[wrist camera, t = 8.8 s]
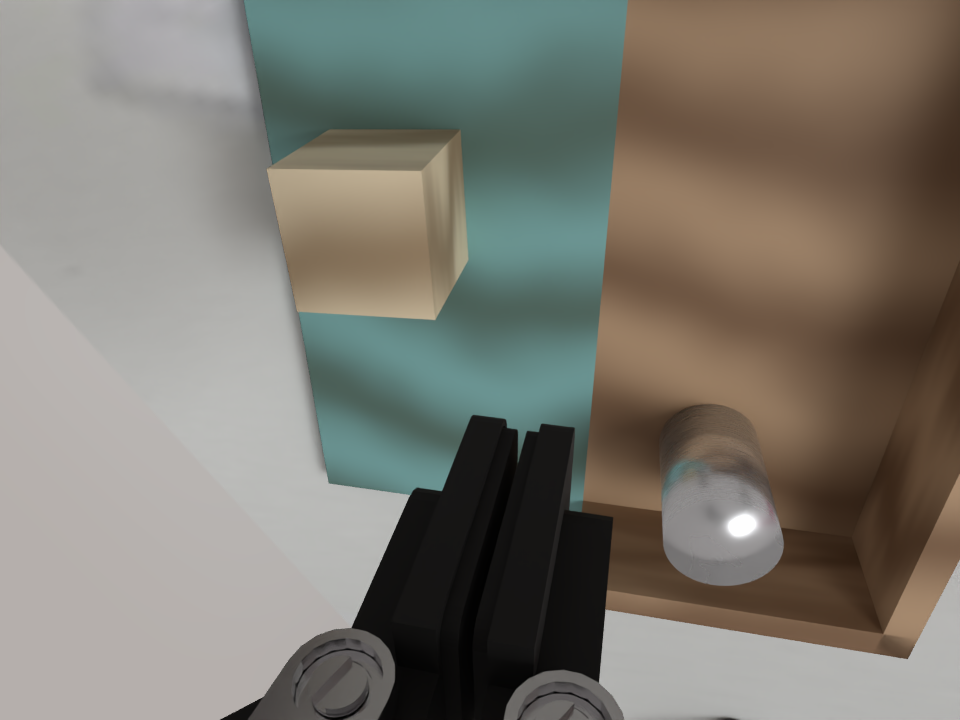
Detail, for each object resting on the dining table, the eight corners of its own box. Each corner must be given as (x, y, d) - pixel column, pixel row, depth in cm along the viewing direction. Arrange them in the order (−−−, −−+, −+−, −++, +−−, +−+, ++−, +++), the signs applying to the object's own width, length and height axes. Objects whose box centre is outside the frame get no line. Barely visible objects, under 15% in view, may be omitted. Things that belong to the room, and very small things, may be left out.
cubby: (247, -62, 23) (138, -59, 18) (1121, -76, 19) (1291, -77, 14) (336, 470, 36) (286, 557, 31) (867, 543, 31) (907, 659, 26)
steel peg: (652, 409, 29) (655, 504, 24) (754, 398, 28) (780, 496, 22) (665, 484, 30) (670, 587, 25) (761, 477, 29) (787, 584, 24)
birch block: (329, 129, 25) (266, 168, 21) (460, 129, 24) (421, 171, 20) (349, 254, 28) (297, 311, 24) (468, 259, 27) (435, 319, 23)
